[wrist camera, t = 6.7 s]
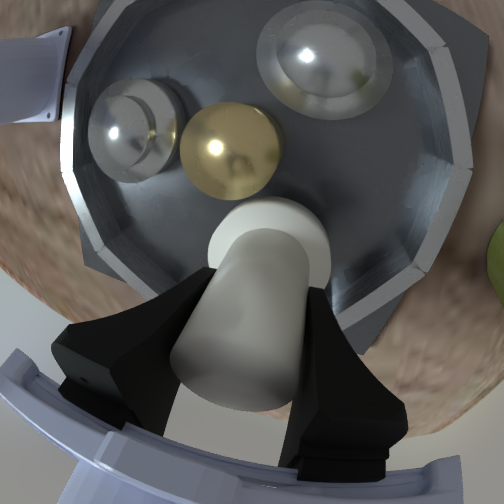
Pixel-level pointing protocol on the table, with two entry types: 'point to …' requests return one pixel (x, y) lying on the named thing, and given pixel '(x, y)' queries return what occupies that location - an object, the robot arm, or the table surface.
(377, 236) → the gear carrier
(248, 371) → the white mushroom peg
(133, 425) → the robot arm
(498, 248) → the plant pot
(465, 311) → the table surface
